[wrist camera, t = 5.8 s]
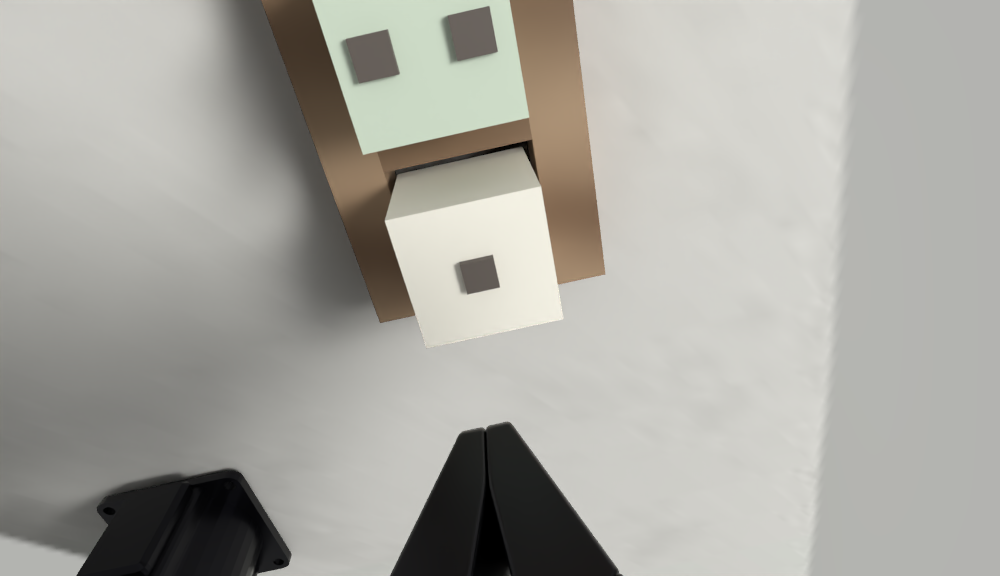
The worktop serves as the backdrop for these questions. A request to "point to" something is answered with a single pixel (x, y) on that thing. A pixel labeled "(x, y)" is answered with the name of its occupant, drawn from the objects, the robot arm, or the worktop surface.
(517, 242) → the key one
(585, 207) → the board
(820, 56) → the worktop surface
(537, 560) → the robot arm
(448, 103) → the key two
